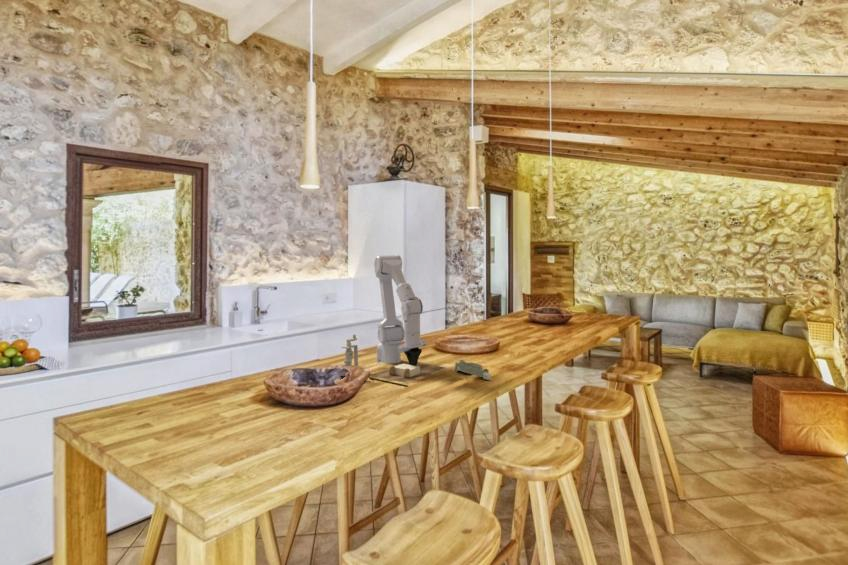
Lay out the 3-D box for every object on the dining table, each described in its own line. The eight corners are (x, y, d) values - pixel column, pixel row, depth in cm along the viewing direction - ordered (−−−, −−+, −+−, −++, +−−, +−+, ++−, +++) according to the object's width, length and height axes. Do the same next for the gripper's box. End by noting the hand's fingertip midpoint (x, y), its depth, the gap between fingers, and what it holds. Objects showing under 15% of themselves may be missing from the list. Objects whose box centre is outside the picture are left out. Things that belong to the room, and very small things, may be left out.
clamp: (336, 379, 176) (335, 338, 175) (349, 372, 185) (348, 333, 184) (346, 380, 175) (345, 339, 173) (359, 373, 184) (358, 334, 182)
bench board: (369, 379, 176) (369, 366, 175) (411, 365, 195) (411, 354, 194) (405, 386, 165) (404, 373, 165) (446, 371, 184) (446, 359, 184)
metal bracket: (457, 365, 171) (455, 355, 186) (452, 381, 172) (451, 370, 186) (496, 376, 171) (491, 365, 186) (491, 392, 171) (487, 380, 186)
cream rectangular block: (392, 373, 177) (392, 366, 177) (403, 370, 181) (403, 363, 181) (409, 377, 172) (409, 370, 172) (420, 373, 177) (419, 366, 176)
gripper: (408, 336, 170) (408, 374, 171) (433, 330, 182) (433, 365, 183) (392, 334, 175) (393, 371, 176) (418, 328, 186) (418, 363, 187)
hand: (413, 368), depth 179 cm, fingers closed
